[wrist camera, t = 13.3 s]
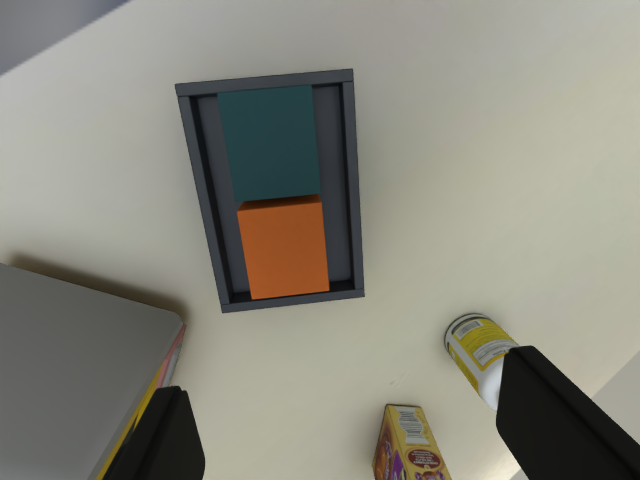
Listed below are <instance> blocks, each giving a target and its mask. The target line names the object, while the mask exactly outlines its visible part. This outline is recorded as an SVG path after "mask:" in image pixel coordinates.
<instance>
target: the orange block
mask: <svg viewBox="0 0 640 480" xmlns="http://www.w3.org/2000/svg"><path fill="white" fill-rule="evenodd" d="M237 216H238V222H239V228H240V234H241V239H242V245H243V251H244V257H245V262H246V268H247V274H248V280H249V286H250V291H251V297H252V299H262V298H270V297H279V296H288V295H296V294H305V293H314V292H322V291H329V279H328V268H327V257H326V246H325V234H324V223H323V212H322V203H321V200H320V197H319V195H318V194H312V195H302V196H293V197H283V198H273V199H263V200H253V201H244V202H243V203H242V205H241V206H240V207H239V209H238V210H237Z"/></svg>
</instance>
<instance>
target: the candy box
mask: <svg viewBox="0 0 640 480" xmlns="http://www.w3.org/2000/svg"><path fill="white" fill-rule="evenodd" d="M372 467H373V471H374V476H375V480H452V479H451V477H450V474H449V472H448V470H447V467H446V465H445V462H444V460H443V458H442V455H441V453H440V451H439V448H438V446H437V444H436V441H435V439H434V437H433V434H432V432H431V430H430V427H429V425H428V423H427V420H426V418H425V415H424V413H423V411H422V408H420V407H408V406H391V405H387V407H386V411H385V416H384V420H383V425H382V429H381V433H380V437H379V441H378V445H377V449H376V453H375V457H374V460H373V464H372Z"/></svg>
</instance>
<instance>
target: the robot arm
mask: <svg viewBox="0 0 640 480" xmlns="http://www.w3.org/2000/svg"><path fill="white" fill-rule="evenodd" d="M496 427H497V430H498V432H499V434H500V436H501V438H502V439H503V441H504V442H505V444H506V445H507V447H508V448H509V450H510V451H511V453H512V454H513V456H514V457H515V459H516V460H517V462H518V464H519V465H520V467H521V468H522V470H523V471H524V473H525V474H526V476H527V477H528V479H529V480H640V445H639V444H638V443H637V442H636V441H635V440H634V439H633V438H632V437H631V436H629V435H628V434H627V433H626V432H625V431H624V430H623V429H622V428H621V427H620V426H619V425H618V424H617V423H616V422H614V421H613V420H612V419H611V418H610V417H609V416H608V415H607V414H606V413H605V412H604V411H602V409H601V408H599V407H598V406H597V405H596V404H595V403H594V402H593V401H592V400H591V399H590V398H589V397H588V396H587V395H586V394H584V393H583V392H582V391H581V390H580V389H579V388H578V387H577V386H576V385H575V384H574V383H573V382H572V381H571V380H570V379H568V378H567V377H566V376H565V375H564V374H563V373H562V372H561V371H560V370H559V369H558V368H557V367H556V366H555V365H553V364H552V363H551V362H550V361H549V360H548V359H547V358H546V357H545V356H544V355H543V354H542V353H541V352H540V351H538V350H537V349H536V348H535V347H534V346H521V347H513V348H510V349H509V352H508V353H507V354H505V355H504V360H503V368H502V376H501V384H500V392H499V399H498V407H497V415H496ZM204 470H205V456H204V452H203V448H202V445H201V441H200V437H199V434H198V430H197V426H196V423H195V419H194V415H193V412H192V408H191V404H190V401H189V397H188V393H187V391H185V390H184V391H182V390H181V388H180V387H179V386H171V387H163V388H157V389H156V390H155V392H154V393H153V395H152V397H151V399H150V401H149V403H148V405H147V407H146V408H145V410H144V412H143V414H142V416H141V418H140V420H139V422H138V424H137V426H136V427H135V429H134V431H133V433H132V435H131V437H130V439H129V441H128V443H126V444H124V445H123V446H121V447H120V448H119V450H118V451H117V453H116V454H115V456H114V458H113V460H112V462H111V464H110V466H109V467H108V469H107V471H106V473H105V475H104V477H103V478H102V480H202V479H203V475H204Z"/></svg>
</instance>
